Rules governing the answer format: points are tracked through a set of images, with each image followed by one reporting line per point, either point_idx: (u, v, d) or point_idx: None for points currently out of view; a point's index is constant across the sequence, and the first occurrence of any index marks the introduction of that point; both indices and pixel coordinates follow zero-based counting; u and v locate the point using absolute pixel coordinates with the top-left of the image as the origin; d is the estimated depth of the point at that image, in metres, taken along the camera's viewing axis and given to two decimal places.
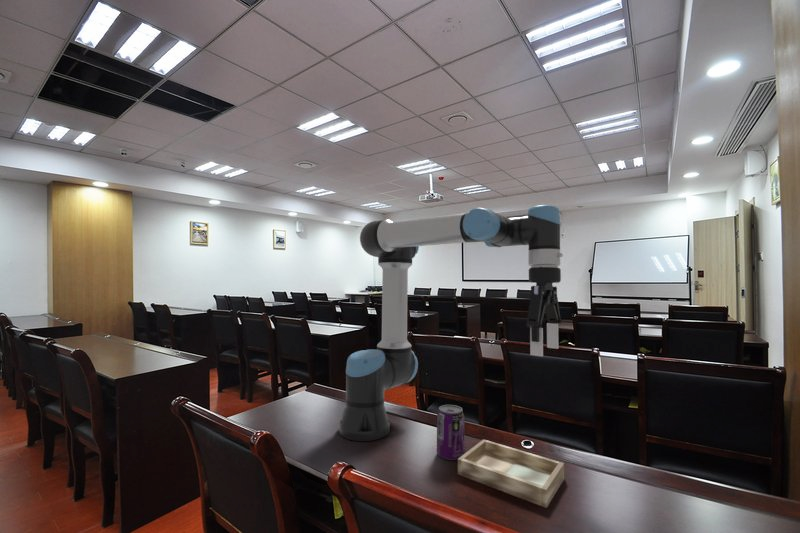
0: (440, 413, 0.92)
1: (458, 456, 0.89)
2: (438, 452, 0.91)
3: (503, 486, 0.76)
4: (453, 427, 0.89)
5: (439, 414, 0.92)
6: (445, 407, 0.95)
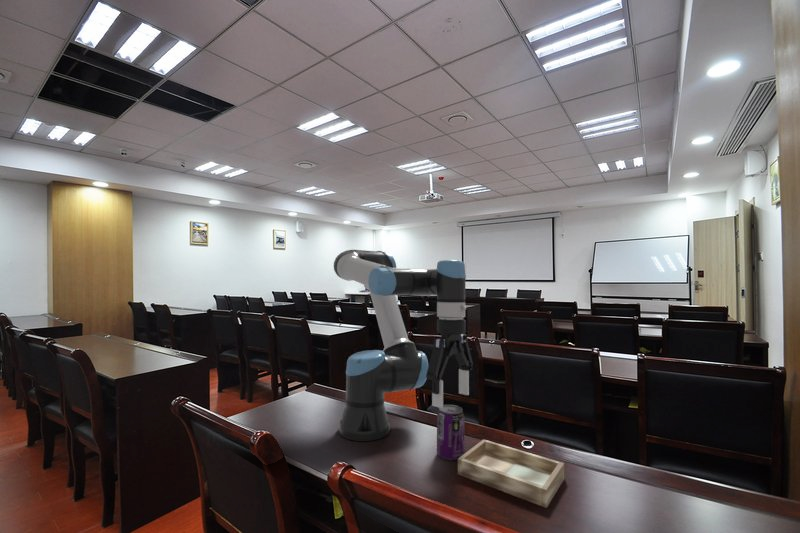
0: (440, 413, 0.92)
1: (458, 456, 0.89)
2: (438, 452, 0.91)
3: (503, 486, 0.76)
4: (453, 427, 0.89)
5: (439, 414, 0.92)
6: (445, 407, 0.95)
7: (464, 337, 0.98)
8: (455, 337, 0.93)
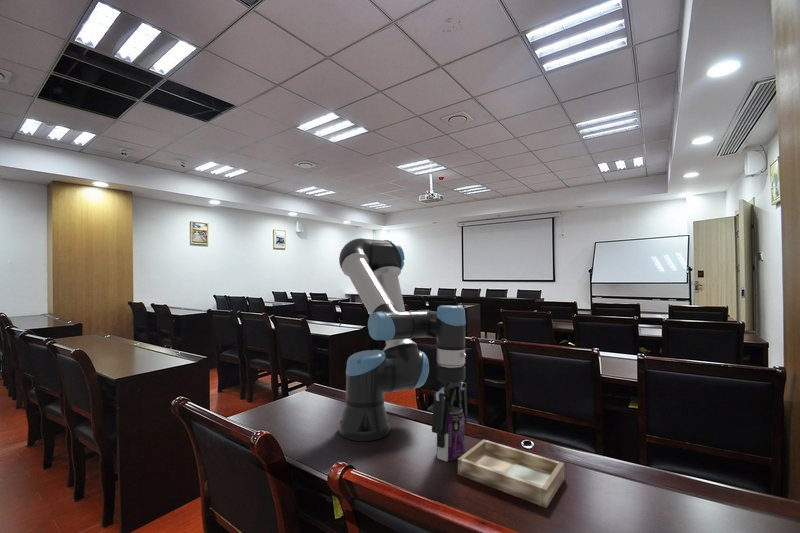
0: None
1: (458, 456, 0.89)
2: None
3: (503, 486, 0.76)
4: (453, 427, 0.89)
5: None
6: None
7: (463, 385, 0.97)
8: (455, 384, 0.93)
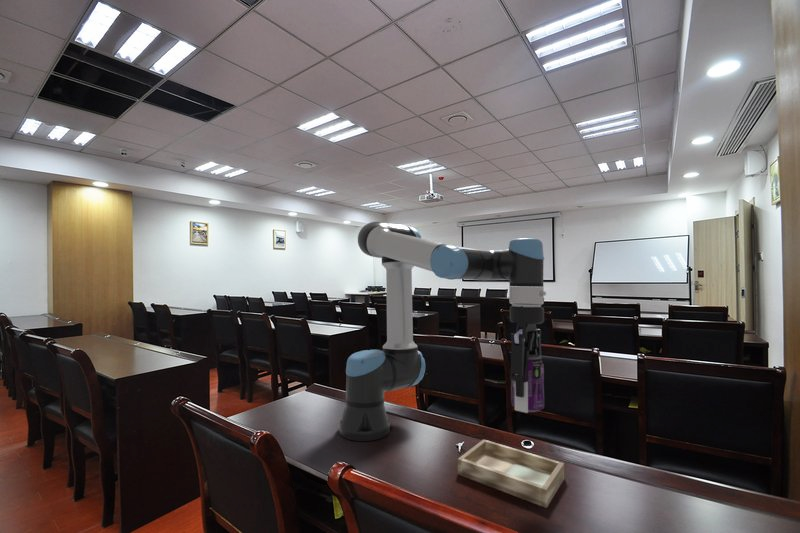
0: None
1: (539, 407, 0.78)
2: (514, 404, 0.80)
3: (503, 486, 0.76)
4: (534, 374, 0.78)
5: None
6: None
7: (538, 331, 0.86)
8: (531, 327, 0.81)
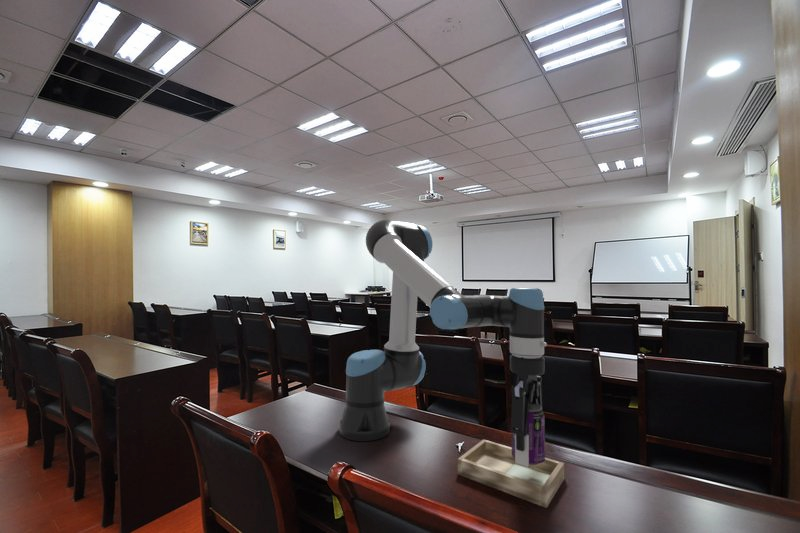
0: None
1: (540, 460, 0.77)
2: None
3: (503, 486, 0.76)
4: (534, 427, 0.77)
5: None
6: None
7: (538, 379, 0.85)
8: (532, 377, 0.81)
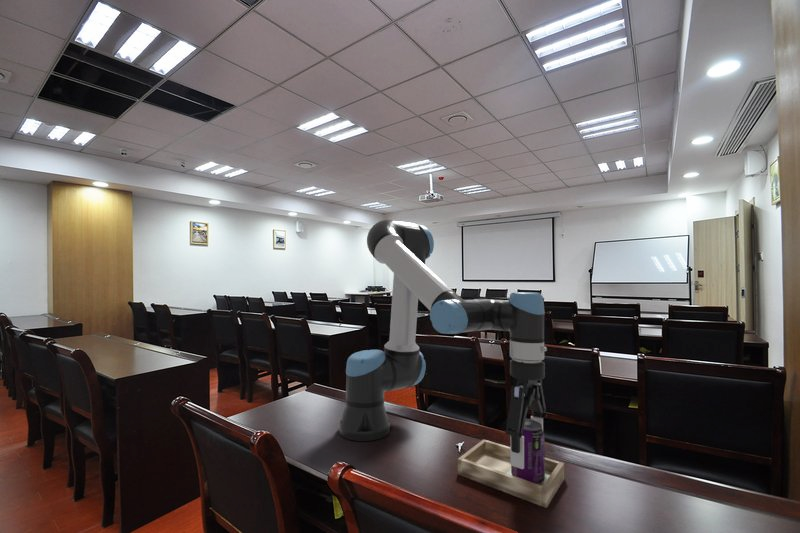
0: None
1: (539, 480, 0.76)
2: (514, 474, 0.79)
3: (503, 486, 0.76)
4: (534, 446, 0.77)
5: None
6: None
7: (538, 379, 0.85)
8: (532, 382, 0.81)
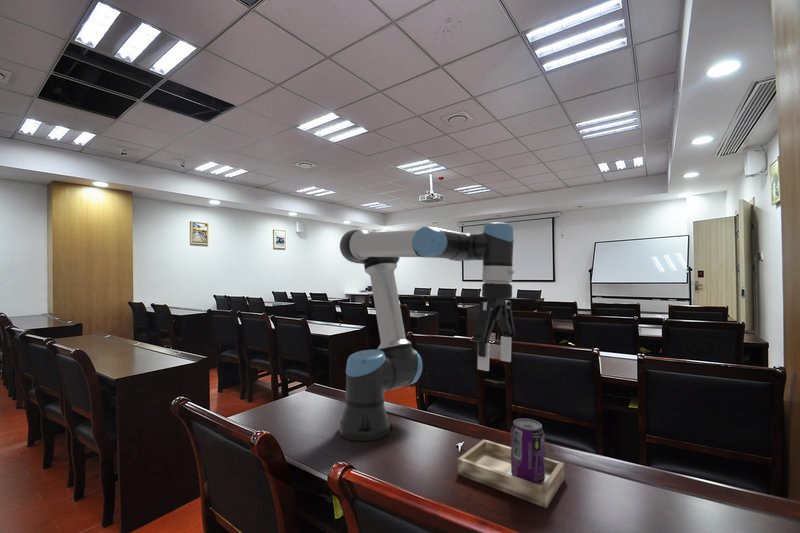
0: (516, 429, 0.79)
1: (539, 480, 0.76)
2: (514, 474, 0.79)
3: (503, 486, 0.76)
4: (534, 446, 0.77)
5: (515, 430, 0.79)
6: (520, 421, 0.82)
7: (508, 303, 0.96)
8: (501, 302, 0.91)
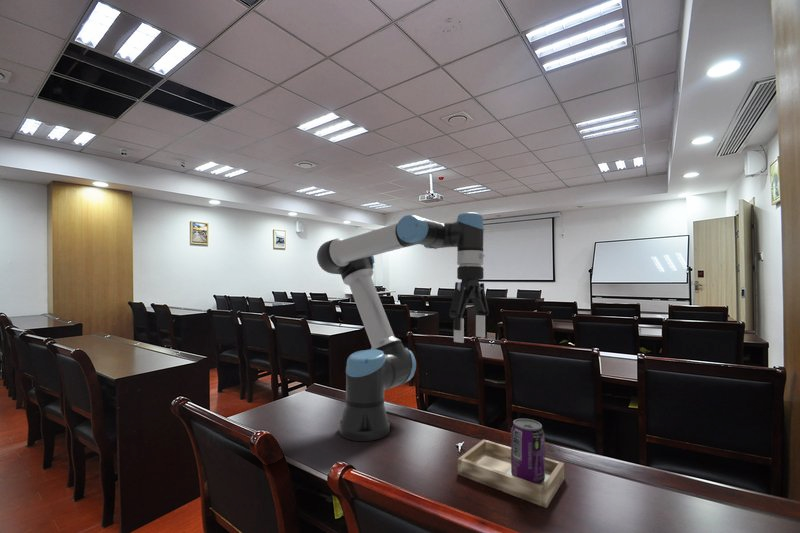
0: (516, 429, 0.79)
1: (539, 480, 0.76)
2: (514, 474, 0.79)
3: (503, 486, 0.76)
4: (534, 446, 0.77)
5: (515, 430, 0.79)
6: (520, 421, 0.82)
7: (481, 285, 1.07)
8: (474, 283, 1.03)
